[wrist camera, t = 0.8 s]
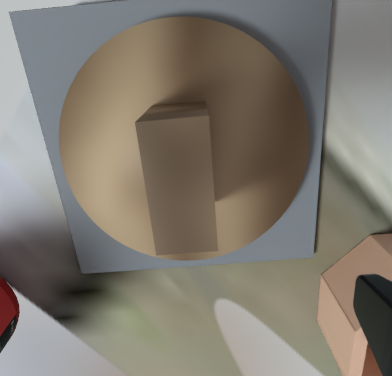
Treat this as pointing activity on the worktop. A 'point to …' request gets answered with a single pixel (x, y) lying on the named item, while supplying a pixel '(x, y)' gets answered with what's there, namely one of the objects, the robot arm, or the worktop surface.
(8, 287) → the canned food
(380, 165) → the worktop surface
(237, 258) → the mat
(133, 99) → the lid
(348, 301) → the bowl
